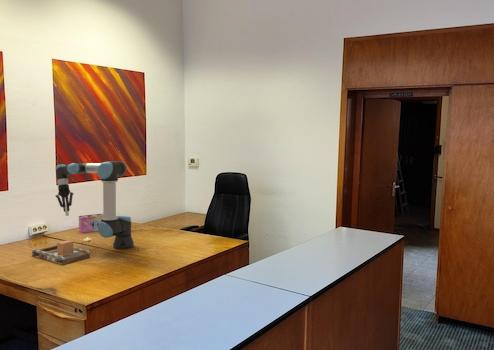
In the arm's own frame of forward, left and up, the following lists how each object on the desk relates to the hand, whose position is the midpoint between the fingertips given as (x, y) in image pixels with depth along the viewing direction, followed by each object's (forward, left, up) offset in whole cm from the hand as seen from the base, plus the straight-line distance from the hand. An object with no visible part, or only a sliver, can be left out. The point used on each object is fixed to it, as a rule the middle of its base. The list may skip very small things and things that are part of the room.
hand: (67, 215), depth 322 cm
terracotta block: (-26, +20, -20) cm, 39 cm away
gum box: (+25, -42, -23) cm, 54 cm away
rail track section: (-21, +20, -23) cm, 37 cm away
